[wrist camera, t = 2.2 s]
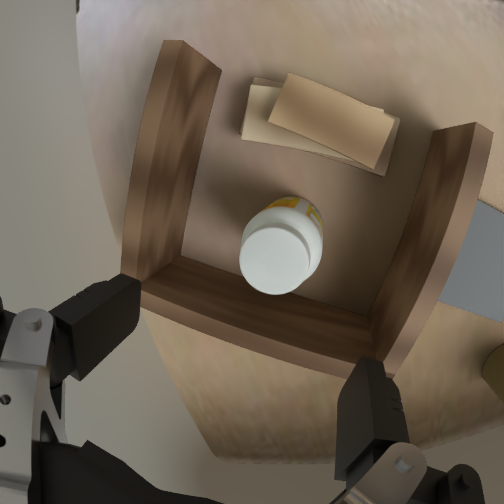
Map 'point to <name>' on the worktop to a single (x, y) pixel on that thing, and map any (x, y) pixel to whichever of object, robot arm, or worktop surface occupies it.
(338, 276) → the worktop surface
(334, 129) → the offcut stack
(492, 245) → the slate mat
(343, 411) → the robot arm
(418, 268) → the walnut open frame
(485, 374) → the cork
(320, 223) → the supplement bottle
